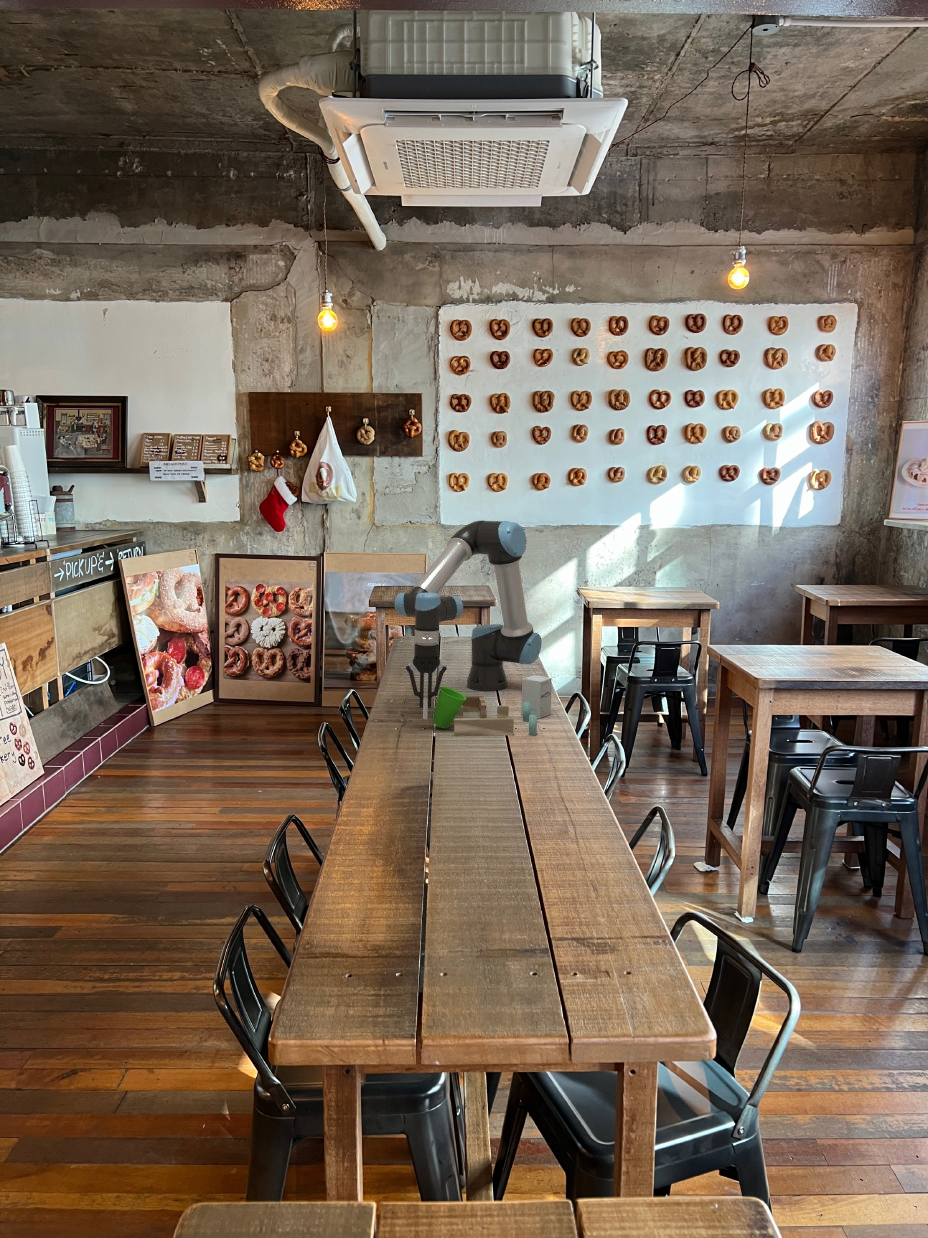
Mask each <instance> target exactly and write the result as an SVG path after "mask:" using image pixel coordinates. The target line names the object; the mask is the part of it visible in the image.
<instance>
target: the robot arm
mask: <svg viewBox="0 0 928 1238" xmlns="http://www.w3.org/2000/svg"><path fill="white" fill-rule="evenodd" d="M526 535H527V534H526V532H525V530H524V528H523V527H522V526H521V525H520V524H519V523H518V522H514V521H508V520H504V521H503V520H502V521H500V520H499V521H497V520H481V519H480V520H476V521H472V522H470V523H468V524H466V525H464V526H463V527H462V528H460V529H459V530H457V531H456V532H455V533H454V534H453V535H452V536H451V537H450V538H449V540H448V541H447V543H446V548H445V549H444V550H443V552H442V553H441V554H440V555H439V556H438V557H437V559H436V560H435V561H434V562H433V563H432V565H431V566H430V567H429V568H428V569H427V571H426V572H425V573H424V574H423V576H421V577H420V578H419V580H418V581H417V583H415V585H413V587H412V588H411V590H410V591H409V592H406V591H405V592H400V593H398V594H397V596H395V600H394V609H395V612H396V613H397V614H398V615H399V616H403V617H407V618H414V623H415V625H414V642H415V643H414V647H413V648H414V650H413V651H414V653H413V654H414V655H413V656H414V657H413V659H412V662H410V663H408V664H406V665H405V670H406V671H407V673H408V674H409V675H408V676H409V679H410V682H411V683H410V684H411V687H412V692H413V695H414V696H415V697H418V698H419V708H420V709H422V720H428V709H431V708H432V699H433V697H437V696H438V695H439V694H438V693H439V692H440V687H441V683H442V680H443V676H444V674H445V672H446V671H447V670H448V669H447V668H448V667H447V665H446V664H443V663H441V660H440V657H439V655H440V654H439V653H440V652H439V651H440V646H439V643H440V623H442V622H446V621H447V622H449V621H453V620H455V619H458V618H460V617H461V616H462V614H463V612H464V604H463V602H462V600H461V598H459V597H458V596H455V595H446V596H442V595H440V594H439V592H441V590H442V588H444V587H445V585H446V583H448V582H449V580H450V579H451V578H452V577H453V575H454V574H455V573H456V571H458V570H459V568H460V567H461V566H462V564H463V563H464V562H466V561H469V560H470V559H471V558H472V557H473V556H475V555H487V557H488V558H487V559H488V562H489V564H490V565H491V566H493V568H494V573H495V579H496V584H497V585H496V586H497V591H498V592H497V593H498V597H499V604H500V609H501V616H502V621H503V624H499V623H494V624H493V623H492V624H491V623H490V624H484V625H478V626H476V627H473V629H472V631H471V638H470V639H471V666H470V670H469V673H468V677H467V679H466V687H468V689H471V690H475V691H484V692H485V691H486V692H487V691H501V690H503V689H506V688H507V687H508V678H507V676H506V673H505V672H506V671H505V669H504V665H503V664H504V663H503V662H507V663H514V664H520V665H532V664H533V663H535V662H536V661H537V659H538V657H539V655H540V653H541V650H542V649H541V648H542V636H541V635H540V634H539V632H534V626H533V624H532V623H531V622H529V621H528V615H527V609H526V603H525V602H526V601H525V597H524V590H523V589H524V587H523V583H522V577H521V569H520V564H519V562H520V561H521V560H522V559H523V555H524V554H525V552H526V550H527V546H526V545H527V543H528V542H527V536H526ZM414 667H415V669H416V670H417V672H418V673H419V690H418V686H417V682H416V679H415V673H414V670H415V669H414ZM437 669H438V674H437V678H436V682H435V685H434V689H433V673H435V671H436V670H437ZM425 674H427V675H428V676H427V696H426V695H425V685H424V684H425ZM432 690H433V691H432ZM424 695H425V696H424Z"/></svg>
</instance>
